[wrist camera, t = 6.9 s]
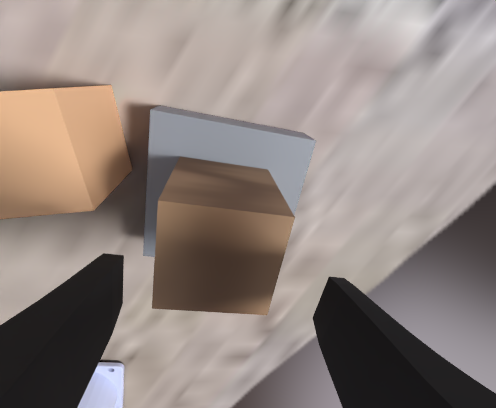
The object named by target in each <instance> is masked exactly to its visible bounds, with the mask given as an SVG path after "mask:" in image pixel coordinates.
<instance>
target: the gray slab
mask: <svg viewBox="0 0 496 408" xmlns="http://www.w3.org/2000/svg"><path fill="white" fill-rule="evenodd" d="M315 143H316V140H314V139H313V138H311V137H309V136H308V135H306V134H305V133H302V132H297V131H291V130H286V129H281V128H276V127H270V126H265V125H260V124H255V123H250V122H244V121H239V120H234V119H229V118H223V117H218V116H213V115H208V114H203V113H197V112H192V111H187V110H182V109H176V108H171V107H166V106H161V105H160V106H157V107H155V108H153V109H150V127H149V148H148V168H147V189H146V209H145V229H144V250H143V256H151V257H155V245H156V227H157V209H158V199H159V197H160V195H161V193H162V191H163V189H164V187H165V185H166V183H167V181H168V179H169V177H170V175H171V173H172V171H173V169H174V167H175V165H176V163H177V161H178V159H179V157H180V156H181V157H188V158H195V159H201V160H208V161H215V162H221V163H228V164H234V165H241V166H248V167H254V168H261V169H268V170H269V172H270V174H271V176H272V177H273V179H274V181H275V183H276V184H277V186H278V188H279V190H280V192H281V193H282V195H283V197H284V199H285V200H286V202H287V204H288V206H289V208H290V209H291V211H292V213H293V215H294V214H295V211H296V207H297V204H298V200H299V197H300V194H301V190H302V187H303V183H304V180H305V177H306V173H307V170H308V167H309V163H310V160H311V156H312V153H313V150H314V146H315Z"/></svg>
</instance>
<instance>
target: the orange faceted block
mask: <svg viewBox="0 0 496 408" xmlns="http://www.w3.org/2000/svg"><path fill="white" fill-rule="evenodd" d="M131 171H132V166H131V162H130V158H129V154H128V150H127V146H126V142H125V138H124V134H123V130H122V126H121V122H120V118H119V114H118V110H117V106H116V102H115V98H114V94H113V90H112V86H111V85H105V86H86V87H67V88H49V89H33V90H17V91H2V92H0V219H9V218H20V217H30V216H41V215H52V214H63V213H73V212H84V211H94V210H95V209H96V208H97V207H98V206H99V205H100V204H101V203H102V202H103V201H104V200H105V198H106V197H107V196H108V195H109V194H110V193H111V192H112V191H113V190H114V189H115V188H116V187H117V186H118V185H119V184H120V183H121V182H122V180H123V179H124V178H125V177H126V176H127V175H128V174H129V173H130V172H131Z"/></svg>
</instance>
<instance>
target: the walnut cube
mask: <svg viewBox="0 0 496 408" xmlns="http://www.w3.org/2000/svg"><path fill="white" fill-rule="evenodd" d="M294 219H295V217H294V215H293V213H292V211H291V209H290V208H289V206H288V204H287V202H286V200H285V199H284V197H283V195H282V193H281V192H280V190H279V188H278V186H277V184H276V183H275V181H274V179H273V177H272V176H271V174H270V172H269V170H268V169H261V168H254V167H248V166H241V165H234V164H228V163H221V162H215V161H208V160H201V159H195V158H188V157H181V156H180V157H179V159H178V161H177V163H176V165H175V167H174V169H173V171H172V173H171V175H170V177H169V179H168V181H167V183H166V185H165V187H164V189H163V191H162V193H161V195H160V197H159V199H158V209H157V227H156V245H155V263H154V281H153V299H152V308H154V309H171V310H188V311H205V312H222V313H240V314H257V315H267V314H268V310H269V307H270V303H271V300H272V296H273V293H274V289H275V286H276V282H277V279H278V275H279V272H280V268H281V264H282V261H283V257H284V254H285V250H286V247H287V243H288V240H289V236H290V233H291V229H292V226H293V222H294Z"/></svg>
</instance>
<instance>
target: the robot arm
mask: <svg viewBox="0 0 496 408" xmlns="http://www.w3.org/2000/svg"><path fill="white" fill-rule="evenodd" d="M123 259H124V256H123V255H113V254H102V255H101V256H99V257H98V258H97V259H95V260H94V261H92V262H91V263H90V264H88V265H87V266H86V267H84V268H83V269H82V270H80V271H79V272H78V273H76V274H75V275H74V276H72V277H71V278H70V279H68V280H67V281H65V282H64V283H63V284H61V285H60V286H58V287H57V288H56V289H54V290H53V291H51V292H50V293H48V294H47V295H46V296H44V297H43V298H41V299H40V300H38V301H37V302H35V303H34V304H32V305H31V306H29V307H28V308H26V309H25V310H23V311H22V312H20V313H19V314H17V315H16V316H14V317H13V318H11V319H9V320H8V321H6V322H5V323H3V324H2V325H0V408H123V392H124V365H123V364H121V363H110V362H99V361H100V359H101V357H102V355H103V353H104V350H105V348H106V346H107V344H108V342H109V340H110V337H111V335H112V333H113V330H114V327H115V324H116V321H117V319H118V316H119V313H120V310H121V307H122V303H123ZM313 321H314V325H315V330H316V334H317V338H318V342H319V345H320V348H321V351H322V354H323V357H324V359H325V362H326V365H327V367H328V370H329V373H330V375H331V378H332V381H333V383H334V386H335V388H336V391H337V394H338V396H339V399H340V402H341V404H342V407H343V408H496V394H495V393H494V392H492V391H491V390H489V389H488V388H486V387H485V386H483V385H482V384H480V383H479V382H477V381H476V380H474V379H473V378H471V377H470V376H468V375H467V374H465V373H464V372H463V371H461V370H459V369H458V368H457V367H455V366H454V365H453V364H451V363H450V362H448V361H447V360H445V359H444V358H443V357H441V356H440V355H438V354H437V353H436V352H435V351H433V350H432V349H431V348H429V347H428V346H427V345H426V344H424V343H423V342H422V341H420V340H419V339H418V338H416V337H415V336H414V335H412V334H411V333H410V332H409V331H408V330H406V329H405V328H404V327H403V326H402V325H400V324H399V323H398V322H397V321H396V320H394V319H393V318H392V317H391V316H390V315H388V314H387V313H386V312H385V311H384V310H382V309H381V308H380V307H379V306H378V305H376V304H375V303H374V302H373V301H372V300H371V299H369V298H368V297H367V296H366V295H365V294H364V293H362V292H361V291H360V290H359V289H358V288H356V287H355V286H354V285H353V284H351V283H350V282H349V281H347V280H346V279H345V278H337V277H329V278H328V281H327V283H326V286H325V288H324V291H323V293H322V296H321V298H320V301H319V303H318V306H317V308H316V311H315V313H314V316H313Z"/></svg>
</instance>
